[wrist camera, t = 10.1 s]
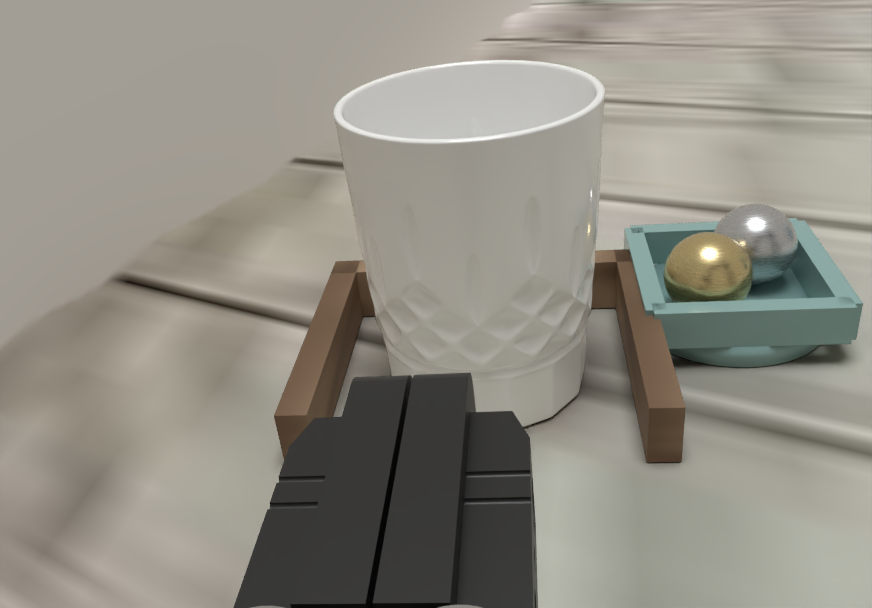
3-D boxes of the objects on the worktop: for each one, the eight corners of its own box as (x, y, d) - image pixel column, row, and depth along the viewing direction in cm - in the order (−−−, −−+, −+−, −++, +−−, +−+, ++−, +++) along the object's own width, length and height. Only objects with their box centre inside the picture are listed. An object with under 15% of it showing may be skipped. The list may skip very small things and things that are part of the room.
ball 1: (733, 288, 31) (747, 216, 30) (754, 334, 29) (770, 259, 27) (652, 287, 32) (662, 216, 30) (666, 333, 29) (677, 259, 28)
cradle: (639, 293, 33) (640, 248, 32) (681, 462, 25) (685, 407, 24) (343, 304, 35) (335, 261, 34) (286, 467, 26) (274, 415, 25)
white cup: (585, 462, 25) (585, 142, 20) (342, 433, 27) (288, 139, 22) (612, 324, 32) (618, 57, 27) (414, 310, 34) (384, 61, 29)
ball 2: (786, 266, 33) (782, 190, 32) (810, 288, 30) (806, 207, 29) (707, 277, 33) (701, 203, 32) (723, 300, 30) (717, 220, 30)
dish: (796, 266, 34) (803, 217, 33) (856, 364, 28) (867, 308, 27) (621, 273, 35) (622, 225, 34) (643, 369, 29) (645, 315, 28)
